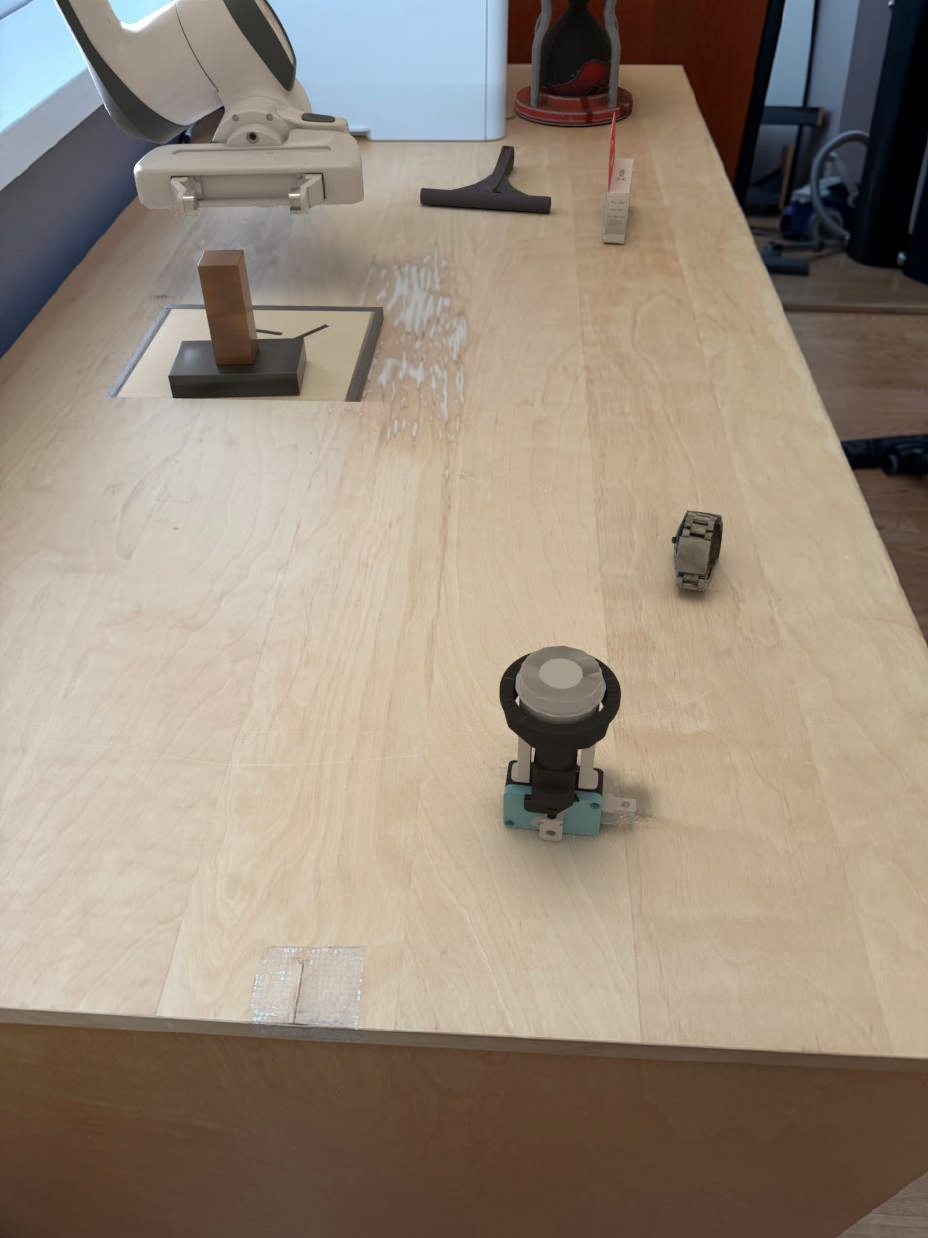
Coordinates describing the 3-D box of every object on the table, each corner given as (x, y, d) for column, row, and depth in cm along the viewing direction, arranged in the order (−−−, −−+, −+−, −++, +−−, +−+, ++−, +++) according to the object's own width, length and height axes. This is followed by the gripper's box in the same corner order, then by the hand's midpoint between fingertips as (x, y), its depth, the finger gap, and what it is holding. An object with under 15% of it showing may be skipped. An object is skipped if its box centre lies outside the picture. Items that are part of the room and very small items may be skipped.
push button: (634, 784, 53) (654, 640, 46) (631, 871, 49) (653, 727, 42) (504, 771, 54) (506, 627, 47) (492, 856, 50) (492, 712, 43)
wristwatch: (713, 595, 66) (725, 518, 66) (703, 589, 61) (716, 505, 62) (666, 589, 67) (677, 513, 67) (652, 582, 63) (665, 500, 63)
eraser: (172, 398, 82) (145, 275, 75) (186, 362, 86) (161, 243, 80) (300, 395, 82) (283, 272, 75) (306, 359, 86) (291, 240, 80)
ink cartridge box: (629, 206, 114) (638, 110, 108) (625, 245, 106) (634, 144, 100) (607, 205, 115) (614, 110, 108) (601, 244, 106) (608, 143, 100)
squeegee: (568, 169, 124) (569, 145, 122) (548, 214, 113) (549, 188, 111) (450, 163, 126) (450, 139, 124) (420, 207, 115) (418, 181, 113)
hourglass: (572, 135, 134) (584, -100, 117) (489, 108, 143) (490, -113, 126) (657, 110, 141) (679, -114, 125) (573, 86, 151) (584, -125, 134)
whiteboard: (87, 440, 79) (83, 428, 78) (167, 313, 96) (165, 303, 95) (347, 446, 78) (346, 434, 77) (383, 317, 94) (383, 306, 94)
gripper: (143, 121, 97) (110, 170, 86) (363, 116, 97) (357, 164, 87) (157, 191, 101) (127, 245, 90) (368, 186, 101) (363, 240, 91)
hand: (242, 206), depth 88 cm, fingers open, 8 cm apart
